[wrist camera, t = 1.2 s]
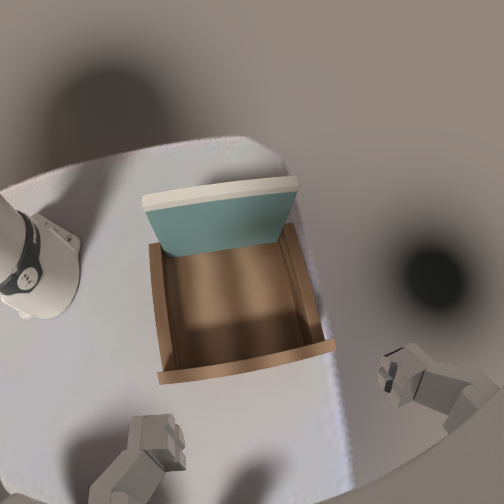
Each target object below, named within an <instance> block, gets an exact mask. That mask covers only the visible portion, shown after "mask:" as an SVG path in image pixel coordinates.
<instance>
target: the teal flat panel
mask: <svg viewBox="0 0 504 504" xmlns="http://www.w3.org/2000/svg"><path fill="white" fill-rule="evenodd" d="M299 187H300V184H299V181H298V178H297V176H283V177H271V178H261V179H251V180H242V181H233V182H225V183H217V184H210V185H202V186H195V187H189V188H182V189H176V190H170V191H164V192H158V193H152V194H147V195H142V207H143V209H144V211H145V213H146V215H147V217H148V219H149V221H150V223H151V225H152V227H153V229H154V232H155V234H156V236H157V238H158V240H159V242H160V244H161V246H162V248H163V250H164V252H165V254H166V256H167V258H168V259H169V258H175V257H182V256H188V255H194V254H201V253H207V252H214V251H220V250H227V249H233V248H240V247H246V246H253V245H260V244H266V243H273V242H277V240H278V238H279V236H280V233H281V231H282V228H283V226H284V223H285V221H286V218H287V216H288V214H289V211H290V209H291V206H292V204H293V201H294V199H295V196H296V194H297V191H298V190H299Z"/></svg>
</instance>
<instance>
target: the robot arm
mask: <svg viewBox="0 0 504 504" xmlns="http://www.w3.org/2000/svg"><path fill="white" fill-rule="evenodd" d="M70 240H71V241H70ZM69 241H70V242H69ZM80 244H81V241H80V239H79V238H78V237H76V236H75V235H73V234H71V233H70V232H68V231H66V230H65V229H63V228H61V227H60V226H58V225H56V224H55V223H53V222H51V221H50V220H48V219H46V218H45V217H43V216H42V215H40V214H38V213H37V214H34V215H33V216H31V217H30V216H28V215H27V214H25V213H22V212H20V211H17V210H15V209H14V208H13V207H12V206H11V205H10V204H9V203H8V202H7V201H6V200H5V199H4V198H3V196H2V195H1V194H0V296H1V300H2V301H3V302H4V303H6V304H8V305H9V306H11V307H13V308H15V309H17V310H18V312H19V315H20V317H21V318H22V319H24V320H29V319H32V318H34V317H37V318H42V319H50V318H53V317H56V316H58V315H59V314H61V313H62V312H63V311H64V310H65V309H66V308H67V307H68V306H69V304H70V303H71V301H72V299H73V297H74V295H75V293H76V290H77V287H78V282H79V262H78V254H79V250H80ZM380 364H381V365H382V367H381V368H380V370H379V371H378V382H379V384H380V387H381V388H382V389H383V391H385V392H388V393H390V394H389V399H390V400H391V401H392V402H393V404H394V405H395V406H396V408H399V407H401V406H403V405H405V404H407V403H409V402H411V401H412V400H414V401H415V402H418V403H420V404H422V405H424V406H427V407H429V408H431V409H434V410H436V411H438V412H441V413H443V414H446V415H448V417H447V419H446V420H445V422H444V424H443V428H444V429H445V430H446V431H447V433H448V435H447V436H446V437H444V438H443V439H442V440H440V441H439V442H437V443H436V444H434V445H433V446H432V447H430V448H429V449H427V450H426V451H424V452H423V453H421V454H420V455H418V456H416V457H415V458H413V459H411V460H410V461H408V462H406V463H405V464H403V465H401V466H399V467H398V468H396V469H394V470H392V471H390V472H388V473H387V474H385V475H383V476H381V477H379V478H377V479H375V480H373V481H370V482H368V483H366V484H364V485H362V486H360V487H357V488H355V489H353V490H350V491H348V492H345V493H343V494H340V495H338V496H335V497H332V498H330V499H327V500H324V501H321V502H318V503H315V504H504V385H503V387H501V388H500V387H498V385H496V384H495V383H494V382H493V381H492V380H491V379H490V378H489V377H488V376H487V375H485V374H484V373H483V372H480V371H475V370H470V369H466V368H462V367H457V366H453V365H449V364H445V363H441V362H438V363H435V362H434V361H433V360H432V359H431V358H430V357H429V356H428V355H427V354H426V353H425V352H424V351H423V350H421V349H420V348H419V347H418V346H417V345H416V344H415V343H410V344H408V345H406V346H404V347H402V348H399V349H397V350H395V351H393V352H391V353H389V354H387V355H384V356H383V357H382V358H381V361H380ZM184 448H185V440H184V435H183V432H182V430H181V428H180V426H179V425H177V424H175V418H174V417H173V415H172V414H163V415H146V416H133V417H132V419H131V422H130V429H129V436H128V443H127V450H123V451H122V452H121V453H120V455H119V456H118V457H117V458H116V459H115V460H114V461H113V462H112V463H111V465H110V466H109V467H108V468H107V469H106V470H105V471H104V472H103V473H102V474H101V476H100V477H99V478H98V479H97V480H96V481H95V482H94V483H93V484H92V485H91V486H90V491H89V499H88V504H147V502H148V501H149V499H150V498H151V496H152V494H153V493H154V491H155V489H156V488H157V486H158V484H159V483H160V481H161V479H162V478H163V476H164V474H165V472H170V471H183V470H186V457H185V455H184V454H183V452H182V450H183V449H184ZM0 504H47V503H44V502H41V501H39V500H36V499H33V498H31V497H28V496H26V495H24V494H20V493H14V494H12V495H10V496H9V497H7V498H6V499H5V500H3V501H2V502H1V503H0Z"/></svg>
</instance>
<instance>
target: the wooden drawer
mask: <svg viewBox="0 0 504 504" xmlns="http://www.w3.org/2000/svg"><path fill="white" fill-rule="evenodd" d="M149 258H150V272H151V284H152V294H153V304H154V313H155V321H156V328H157V336H158V342H159V349H160V355H161V361H162V367H163V372H157V374H158V379H159V384H160V385H162V384H172V383H181V382H190V381H197V380H204V379H211V378H218V377H224V376H230V375H235V374H241V373H246V372H251V371H256V370H261V369H265V368H270V367H274V366H279V365H283V364H287V363H291V362H295V361H299V360H303V359H307V358H310V357H314V356H317V355H321V354H324V353H328V352H331V351H334V350H337V349H336V345H335V341H334V339H330V340H326V341H325V339H324V334H323V330H322V326H321V322H320V318H319V314H318V310H317V307H316V303H315V299H314V295H313V291H312V288H311V284H310V280H309V277H308V273H307V269H306V266H305V262H304V259H303V255H302V252H301V248H300V245H299V241H298V238H297V235H296V231H295V228H294V225H293V223H288V224H284V226H283V228H282V231H281V233H280V236H279V238H278V240H277V242H273V243H266V244H260V245H253V246H246V247H240V248H233V249H227V250H220V251H214V252H207V253H201V254H194V255H188V256H182V257H175V258H169V259H168V258H167V256H166V254H165V252H164V250H163V248H162V246H161V244H160V242H159V243H153V244H149Z"/></svg>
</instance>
